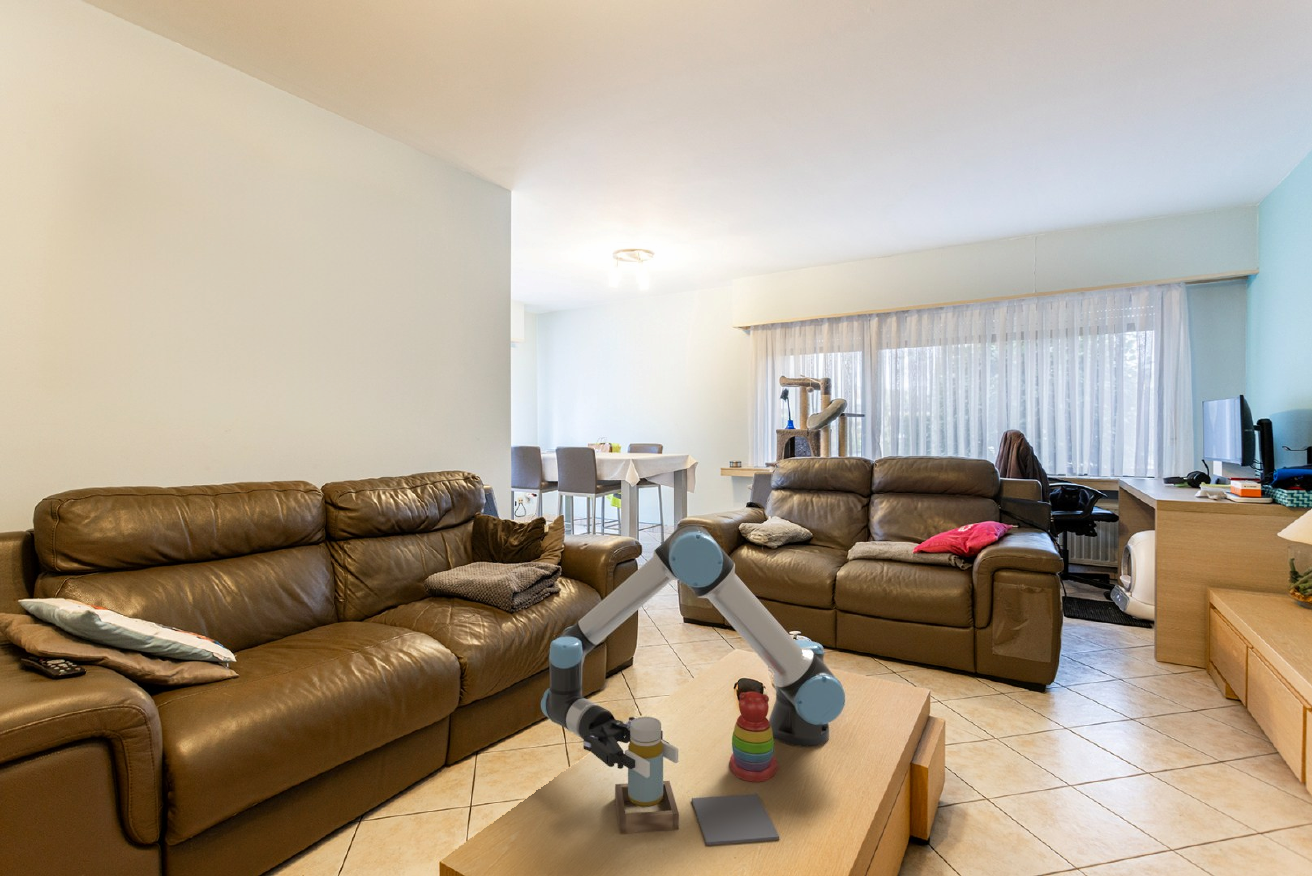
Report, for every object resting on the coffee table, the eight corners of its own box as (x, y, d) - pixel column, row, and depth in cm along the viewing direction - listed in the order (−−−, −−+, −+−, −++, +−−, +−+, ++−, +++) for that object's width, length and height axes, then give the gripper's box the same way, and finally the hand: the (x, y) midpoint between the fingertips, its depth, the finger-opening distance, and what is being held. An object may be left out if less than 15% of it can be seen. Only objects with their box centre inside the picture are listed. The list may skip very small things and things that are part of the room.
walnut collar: (669, 794, 132) (669, 780, 132) (678, 829, 120) (678, 813, 120) (615, 798, 130) (615, 784, 130) (619, 833, 119) (619, 818, 119)
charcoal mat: (757, 796, 132) (757, 793, 132) (779, 839, 118) (779, 836, 118) (691, 801, 130) (691, 798, 130) (706, 845, 116) (706, 842, 116)
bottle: (659, 810, 121) (659, 733, 121) (624, 806, 123) (624, 730, 122) (665, 790, 128) (666, 717, 128) (632, 786, 129) (632, 714, 129)
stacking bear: (778, 762, 145) (779, 686, 145) (775, 786, 136) (776, 704, 135) (731, 755, 148) (732, 681, 148) (725, 778, 138) (726, 698, 138)
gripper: (625, 724, 145) (697, 763, 128) (553, 755, 132) (623, 802, 115) (625, 692, 145) (698, 727, 128) (553, 719, 131) (623, 762, 115)
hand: (662, 762), depth 122 cm, fingers closed on bottle, 7 cm apart
